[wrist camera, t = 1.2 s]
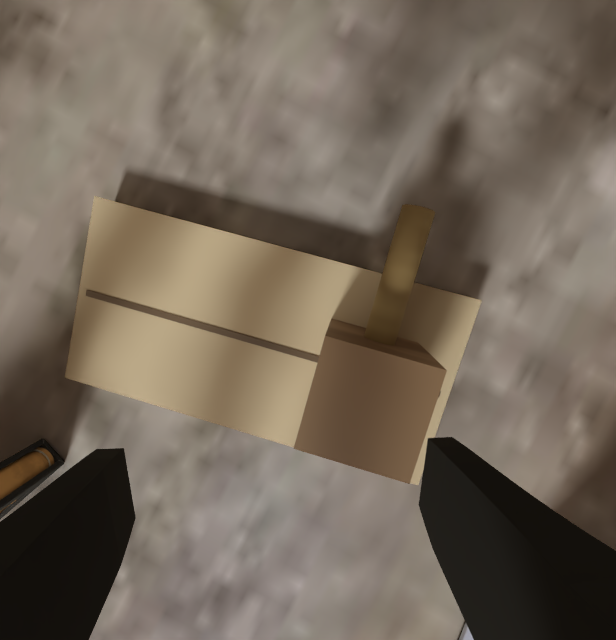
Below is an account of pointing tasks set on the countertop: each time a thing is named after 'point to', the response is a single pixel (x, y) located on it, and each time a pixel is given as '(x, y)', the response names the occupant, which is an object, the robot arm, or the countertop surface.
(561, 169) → the countertop surface
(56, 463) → the ammunition clip
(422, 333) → the board
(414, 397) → the mallet
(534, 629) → the robot arm
